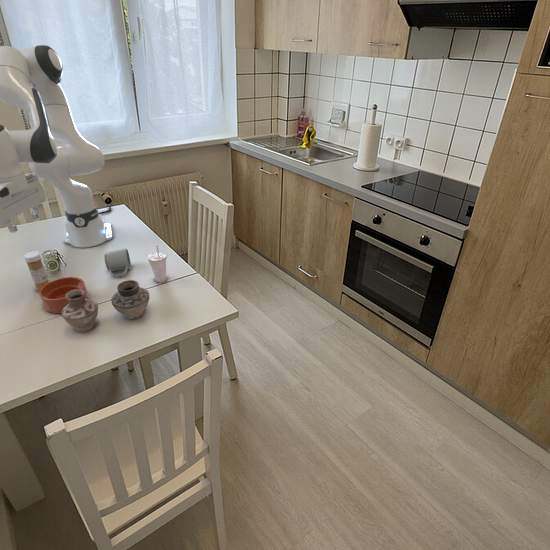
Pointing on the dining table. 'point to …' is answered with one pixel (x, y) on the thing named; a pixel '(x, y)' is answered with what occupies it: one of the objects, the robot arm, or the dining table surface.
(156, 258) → the smoothie
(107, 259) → the ceramic mug
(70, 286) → the bowl
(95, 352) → the dining table surface
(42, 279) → the sprinkles bottle
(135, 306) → the pottery
